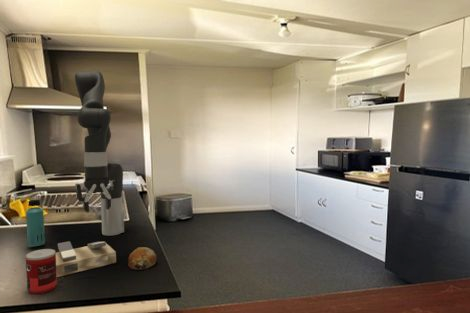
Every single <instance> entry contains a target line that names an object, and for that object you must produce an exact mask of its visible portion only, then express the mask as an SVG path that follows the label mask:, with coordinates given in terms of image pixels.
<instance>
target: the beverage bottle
mask: <svg viewBox="0 0 470 313" xmlns="http://www.w3.org/2000/svg"><path fill="white" fill-rule="evenodd" d="M40 201H41V200H40V199H30V200H28V203H27V204H28V207H30V208H28V209H27V210H26V211H25V216H26V217H25V218H26V219H25V220H26V236H27V237H26V240H27V246H28V247H38V246H39V247H40V246H43V245H44V244H45V242H46V231H45V214H44V209H43V208H42V207H40V205H41V202H40ZM38 206H39V207H38Z"/></svg>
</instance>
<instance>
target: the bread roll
mask: <svg viewBox="0 0 470 313" xmlns="http://www.w3.org/2000/svg"><path fill="white" fill-rule="evenodd" d="M156 262H157V254H156V253H155V251H154V250H153V249H151V248H149V247H146V246H144V247H143V246H142V247H141V246H140V247H137V248H136V249H134V250H133V251H132V252H131V253H130V254H129V256H128V260H127V266H128V267H129V269H131V270H136V271H137V270H138V271H140V270H142V271H143V270H146V269H149V268H151V267H153V266H154V265H156Z"/></svg>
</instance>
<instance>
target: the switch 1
mask: <svg viewBox="0 0 470 313" xmlns="http://www.w3.org/2000/svg"><path fill="white" fill-rule="evenodd" d="M57 248H58V252H60V256H61V257H62V260H63V261H67V260H72V259H76V253H75V251H74V249H75V248H73V245H72V243H71V241H69V240H68V241H63V242H58V243H57Z"/></svg>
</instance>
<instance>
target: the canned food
mask: <svg viewBox="0 0 470 313" xmlns="http://www.w3.org/2000/svg"><path fill="white" fill-rule="evenodd" d="M25 270H26V271H25V272H26V285H27V286H26V288H27V291H28V293H30V294H38V293H39V294H44V293H46V292H51V291H52V290H53V289H55V288H56V287H57V283H58V277H57V274H56V250H55V249H52V248H43V249H38V250H37V249H36V250H33V251H30V252H28V253H27V254H26V255H25ZM39 294H38V295H39Z"/></svg>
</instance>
